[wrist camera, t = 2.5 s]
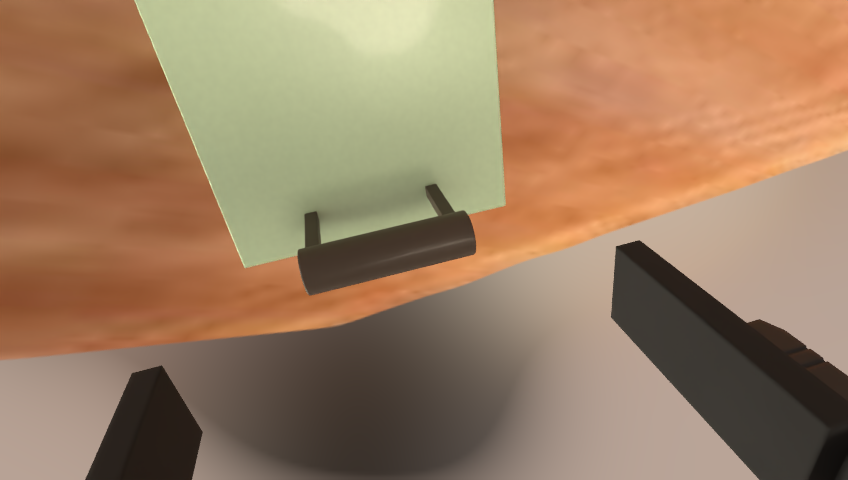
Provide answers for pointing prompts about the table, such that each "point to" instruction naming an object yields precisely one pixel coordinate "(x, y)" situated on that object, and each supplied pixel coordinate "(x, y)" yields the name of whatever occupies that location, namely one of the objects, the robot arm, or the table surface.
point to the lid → (339, 126)
